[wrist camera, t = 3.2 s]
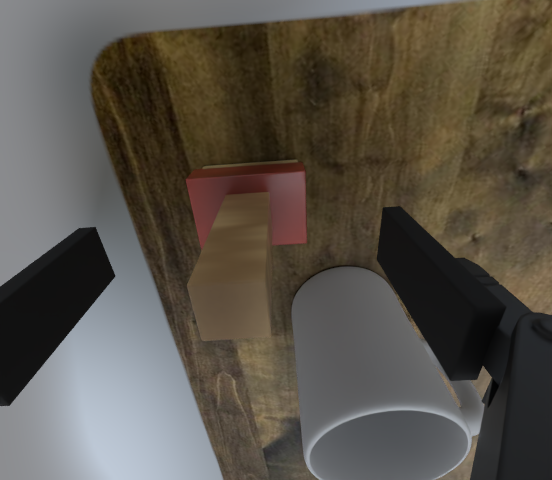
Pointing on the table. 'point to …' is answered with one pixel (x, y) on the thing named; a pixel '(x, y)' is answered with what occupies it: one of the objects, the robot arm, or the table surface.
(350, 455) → the mug
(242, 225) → the brush
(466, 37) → the table surface
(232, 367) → the table surface
